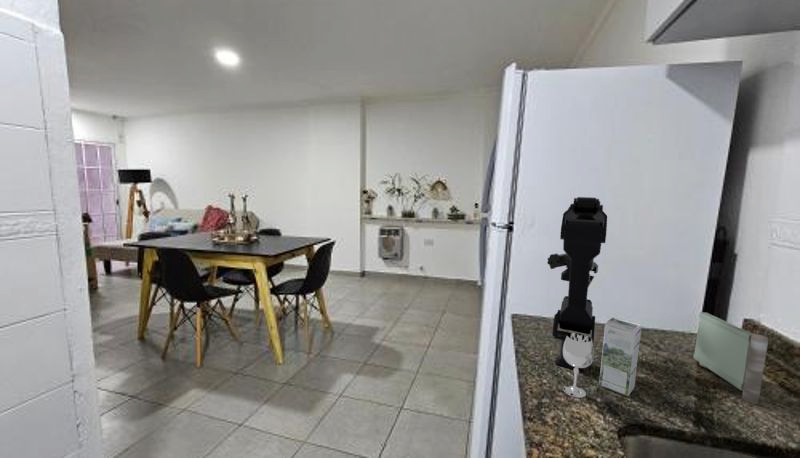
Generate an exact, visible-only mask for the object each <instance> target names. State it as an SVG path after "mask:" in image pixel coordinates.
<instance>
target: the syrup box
mask: <svg viewBox="0 0 800 458" xmlns="http://www.w3.org/2000/svg"><path fill="white" fill-rule="evenodd" d="M603 333H604V334H603V342H602V352H601V362H600V373H599V382H598V386H599V387H602V388H603V389H607V390H610V391H612V392H615V393H617V394H620V395H623V396H626V397H629V396H630V395H631V393H632V392H633V390H634V389H635V387H636V386H635V385H636V377H637V364H638V358H639V350H640V343H641V336H642V325H641V324H639V323H635V322H630V321H626V320H623V319H619V318H615V317H611V318H610V319H608V320H607V322H605V324H604V332H603Z"/></svg>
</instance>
